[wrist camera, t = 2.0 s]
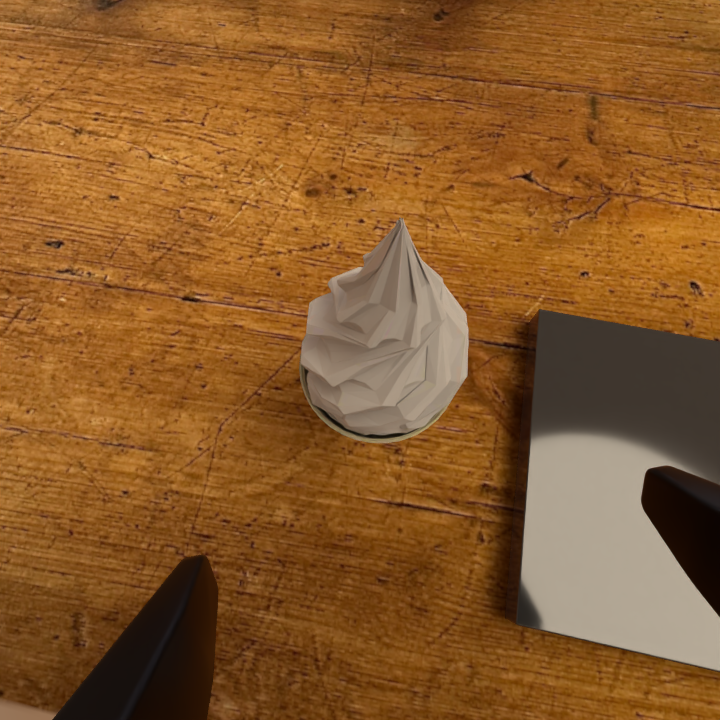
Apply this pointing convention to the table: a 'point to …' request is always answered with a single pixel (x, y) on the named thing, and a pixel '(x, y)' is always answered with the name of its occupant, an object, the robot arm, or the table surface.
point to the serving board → (610, 485)
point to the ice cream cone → (384, 346)
